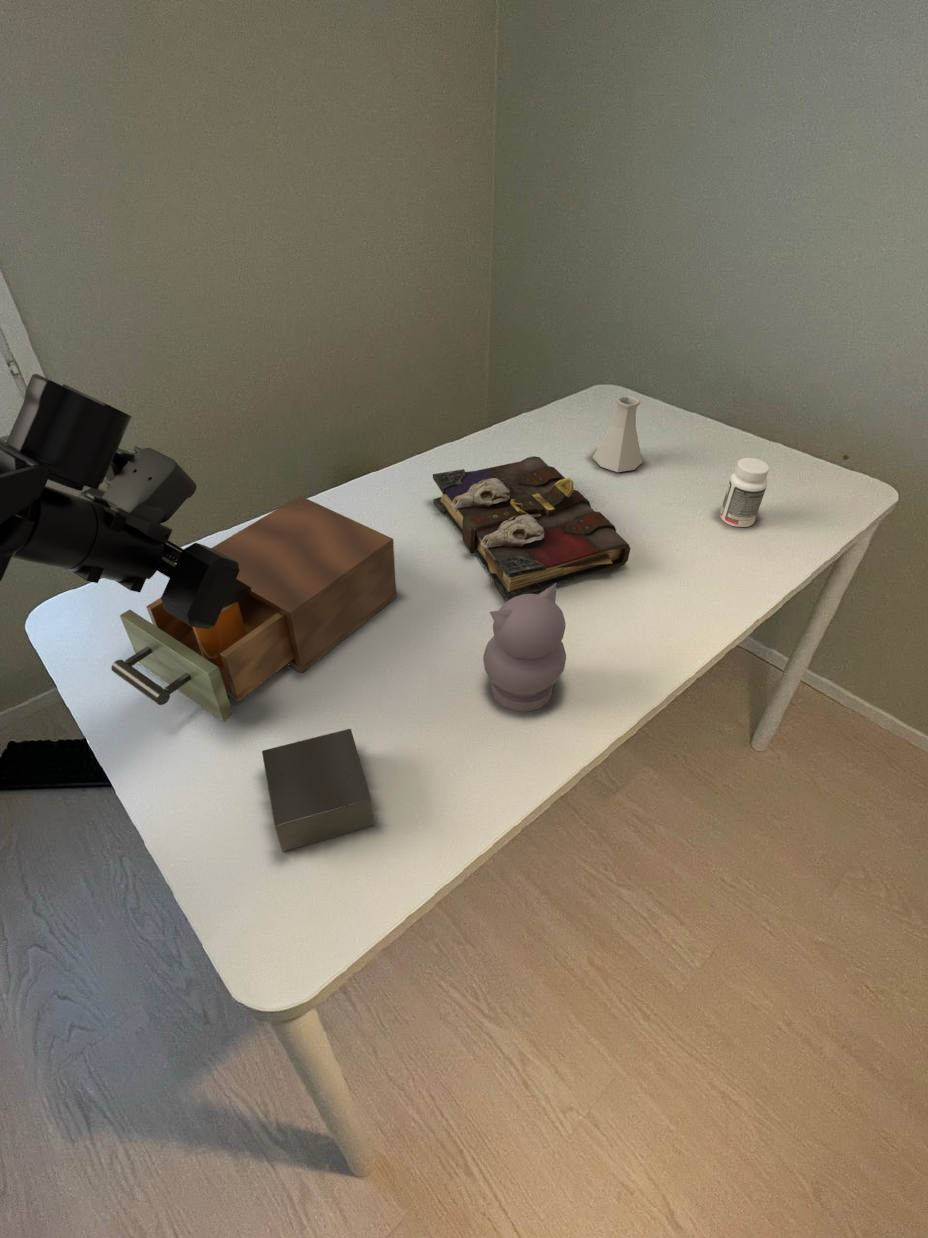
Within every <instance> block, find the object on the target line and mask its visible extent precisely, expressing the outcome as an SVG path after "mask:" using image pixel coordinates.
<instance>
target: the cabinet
mask: <svg viewBox="0 0 928 1238" xmlns="http://www.w3.org/2000/svg"><path fill="white" fill-rule="evenodd" d="M211 548H212V549H214V550H216V551H218V552H220V553H222V554H224V555H226V556H227V557H229V558H231V559H233V560H235V561H237V562H238V565H239V570H240V571H239V574H238V576H237V578H236V579H238V580H240V581H241V582H243V583H245V584H246V585H248V586H249V587H251V591H250V593H249V595H251V596H253V597H254V598H256V599H258V600H260V601H261V602H263V603H265V604H267V605H268V606H270V607H272V608H274V609H275V610H277V611H279V612H281V613H282V614H284V615H286V617H287V622H288V627H289V632H290V637H291V642H292V647H293V652H294V657H295V658H294V659H293V660H291V661H290V662H289V663H287V664H286V665H288V666H289V667H291V668H293V669H295V670H296V671H298V672H300V673H301V674H304V673H305V671H307V670H308V669H310V667H312V666H313V665H314V664H316V663H317V662H318V661H319V660H321V659H322V658H323V657H324V656H325V655H327V654H328V653H329V652H330V651H332V650H333V649H334V648H335V647H336V646H338V645H340V643H342V642H343V641H345V639H347V638H348V637H349V636H350V635H352V634H353V633H354V632H355V631H356V630H358V629H360V628H361V627H362V626H363V625H364V624H366V623H367V622H368V621H370V619H372V618H373V617H374V616H375V615H376V614H378V613H379V612H380V611H382V610H383V609H384V608H386V606H388V605H389V604H390V603H391V602H393V601H394V600H395V599H396V598H397V583H396V566H395V549H394V538H393V537H390V536H388V535H387V534H384V533H381V532H380V531H377V530H376V529H373V528H371V527H368V526H367V525H365V524H362V523H360V522H358V521H356V520H354V519H352V518H349V517H347V516H345V515H343V514H341V513H338V512H337V511H335V510H332V509H330V508H328V507H325V506H323V505H321V504H319V503H318V502H315V501H313V500H310V499H309V498H307V497H304V496H302V495H298V496H297V497H295V498H293V499H292V500H289V501H288V502H286V503H285V504H283V505H281V506H280V507H278V508H276V509H275V510H273V511H271V512H270V513H268V514H267V515H264V516H263V517H261V518H260V519H258V520H256V521H254V522H253V523H251V524H250V525H248V526H246V527H244V528H243V529H240V530H239V531H238V532H235V533H233V535H231V536H229V537H228V538H226V539H224V540H222V541H221V542H218V543H217V544H215V545H214V546H212V547H211Z"/></svg>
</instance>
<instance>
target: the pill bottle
mask: <svg viewBox="0 0 928 1238" xmlns="http://www.w3.org/2000/svg"><path fill="white" fill-rule="evenodd" d="M734 470H735V471H734V472H733V473H732V474H731V476H730V477H729V482H728V485H727V488H726V492H725V495H724V498H723V501H722V505H721V508H720V511H719V517H720V519H721V520H722V522H724V523H725V524H727V525H729V526H732V527H735V528H748V527H751V526H752V525H754V523H755V521H756V519H757V515H758V513H759V510H760V507H761V504H762V501H763V498H764V496H765V493H766V490H767V487H768V480H767V478H768V473H769V471H770V466H769V465H768V463H766V462H765V461H764V460H761V459H758V458H756V457H755V458H753V457H744V458H740V459H739V460H738V461H737V464H736V466H735V469H734Z"/></svg>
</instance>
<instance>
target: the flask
mask: <svg viewBox="0 0 928 1238" xmlns="http://www.w3.org/2000/svg"><path fill="white" fill-rule="evenodd" d="M615 401H616V404H617V408H616V412H615V415H614V418H613V420H612V423H611V425H610V427H609V429H608V430H607V432H606V434H605V436H604V438H603V439H602V441H601V442H600V444H599V446H598V447H597V449H596V450H595V452H594V454H593V456H592V459H593V460H594V461H595V463H597V465H599V466H600V467H601V468H604V469H607V470H609V471H613V472H615V473H621V472H622V473H623V472H629V471H635V470H636V469H637V468H639V466H640V465H642V463H643V457H642V452H641V447H640V443H639V438H638V437H639V436H638V431H637V425H636V423H637V422H636V421H637V420H636V419H637V416H636V415H637V410H638V409H637V408H638V406H640V404H641V401H640V400H639V398H638V397H635V396H632V395H620V396H619V397H618V398H616V400H615Z"/></svg>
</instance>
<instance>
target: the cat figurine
mask: <svg viewBox="0 0 928 1238" xmlns="http://www.w3.org/2000/svg"><path fill="white" fill-rule="evenodd" d="M557 585H558V584H557V583H555V584H554V585H552V586H549V587H547V588H546V589H544V590H543V592H541V593H539V594H523V595H519V596H516V597H514V598H512V599H510V600H509V601H507V602H504V603H503V604H502V606H500V608H498V610H493V611H489V613H490V615H491V617H492V620H493V622H492V631H493V632H492V633H493V636H492V637H491V638H490V639H489V641H488V642H487V644H486V646H485V648H484V652H483V655H482V659H483V665H484V671H485V673H486V675H487V676H488V678H489V679H490V681H491V682H490V684H491V686H490V688H491V694H492V695H493V698H495V700H496V702H497V703H499V704H500V705H501V706H502V707H504V708H507V709H509V710H511V711H515V712H522V713H524V712H525V713H526V712H533V711H536V710H538V709H541V708H542V707H544V706H545V705H547V704H548V702H549V701H550V699H551V697H552V692H553V685H554V683H556V682H557V681H558V679H559V678H560V677H561V675H562V674H563V673H564V670H565V668H566V667H565V666H566V662H567V652H566V649H565V645H564V643H563V642H562V640H563V639H564V636H565V632H566V624H567V623H566V619H565V615H564V612H563V610H562V609H561V608H560V606H559V605H558V604H557V603H556V597H557Z"/></svg>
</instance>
